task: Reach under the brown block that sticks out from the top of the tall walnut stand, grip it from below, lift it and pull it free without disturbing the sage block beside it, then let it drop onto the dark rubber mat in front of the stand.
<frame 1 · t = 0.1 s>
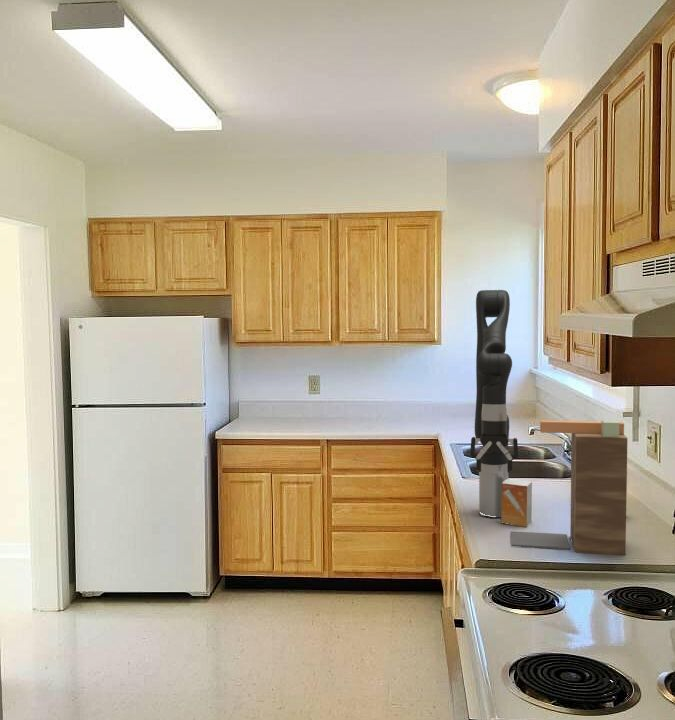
hand: (494, 471, 218), 17 cm above the worktop, tool pointing down, fingers open, 8 cm apart
small box: (516, 523, 222), on the worktop
stand: (596, 545, 201), on the worktop
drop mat: (539, 541, 205), on the worktop
sage block: (610, 436, 194), point 32 cm above the worktop, touching stand
brown block: (581, 432, 200), point 32 cm above the worktop, touching stand
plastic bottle: (615, 517, 227), on the worktop
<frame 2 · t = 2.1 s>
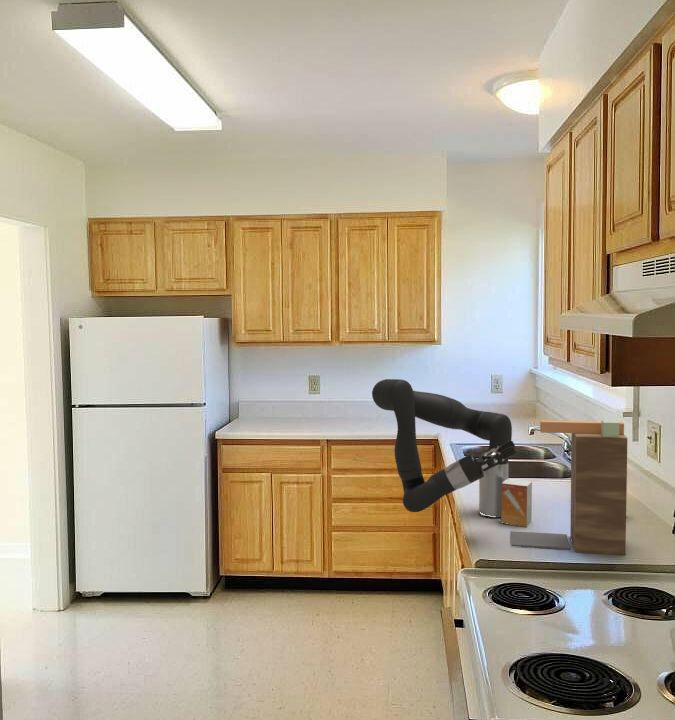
hand: (514, 446, 204), 28 cm above the worktop, tool pointing upward, fingers open, 8 cm apart
nothing on the worktop moved.
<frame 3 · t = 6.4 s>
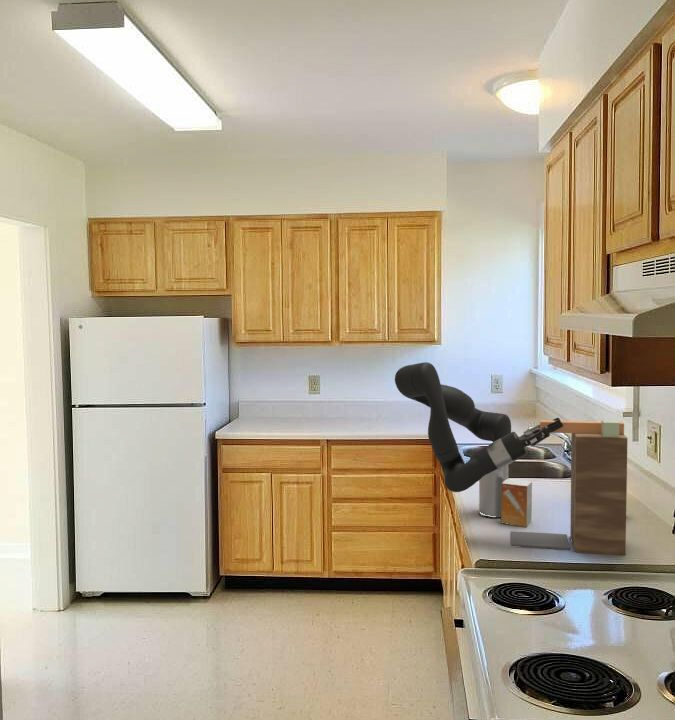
hand: (560, 421, 201), 35 cm above the worktop, tool pointing upward, fingers closed on brown block, 3 cm apart
brown block: (581, 432, 200), point 32 cm above the worktop, touching gripper, stand
everything else where it was.
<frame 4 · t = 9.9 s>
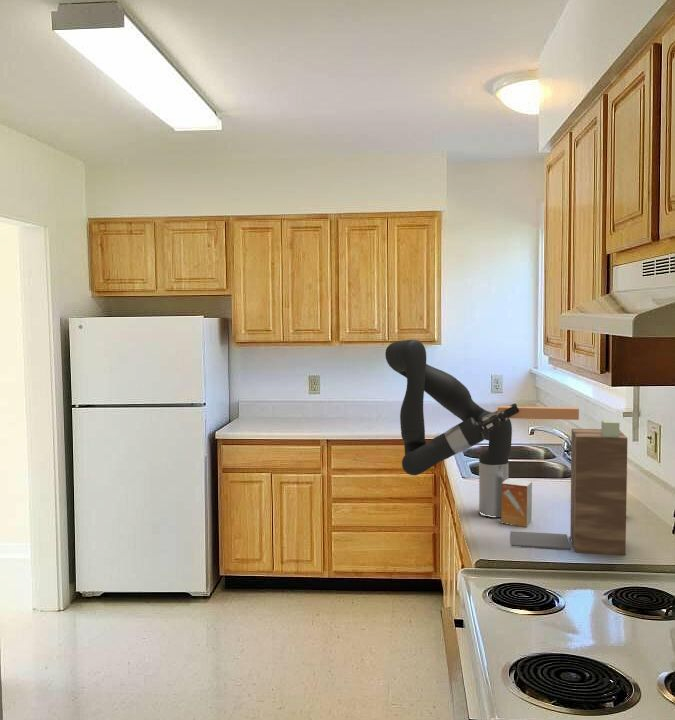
hand: (517, 407, 203), 39 cm above the worktop, tool pointing upward, fingers closed on brown block, 3 cm apart
brown block: (537, 418, 202), point 36 cm above the worktop, touching gripper
everything else where it was.
when the fingers open (26 cm above the worktop, at t = 13.6 s): brown block drops 21 cm and tips over, resting on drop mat.
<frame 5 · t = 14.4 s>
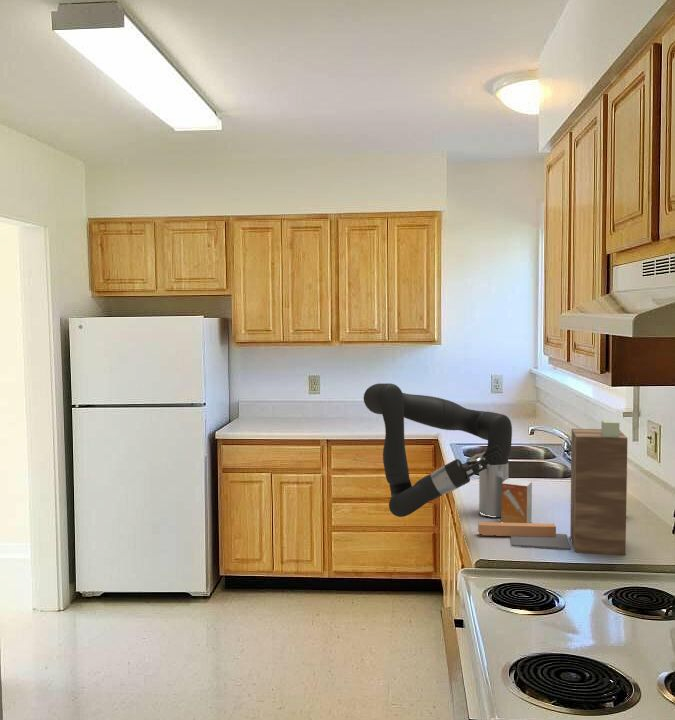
hand: (499, 451, 205), 26 cm above the worktop, tool pointing upward, fingers open, 8 cm apart
brown block: (517, 530, 208), point 2 cm above the worktop, tilted 90°, touching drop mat
everything else where it was.
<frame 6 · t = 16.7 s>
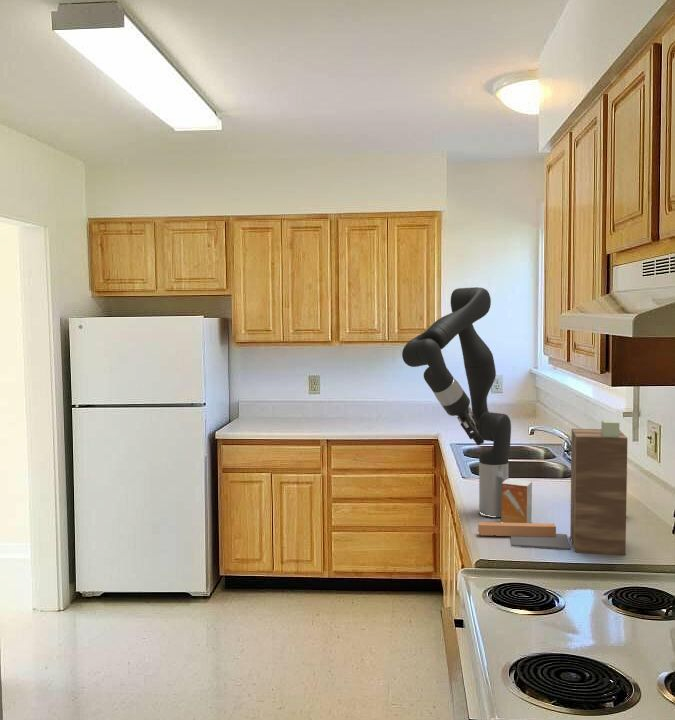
hand: (478, 435, 209), 30 cm above the worktop, tool tilted 40°, fingers open, 8 cm apart
nothing on the worktop moved.
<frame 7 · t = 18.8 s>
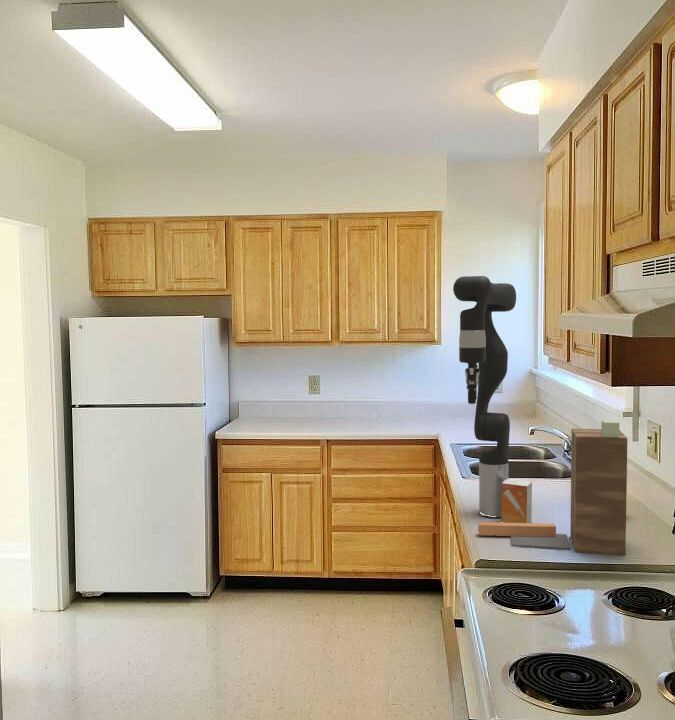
hand: (472, 401, 207), 40 cm above the worktop, tool pointing down, fingers open, 8 cm apart
nothing on the worktop moved.
at the end: brown block inside the target area (2.8 cm from its centre), point 2.1 cm above the worktop; sage block moved 0.1 cm from its start; the gripper is holding nothing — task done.
